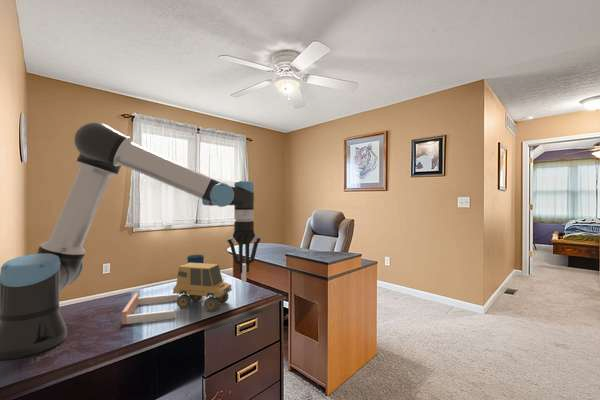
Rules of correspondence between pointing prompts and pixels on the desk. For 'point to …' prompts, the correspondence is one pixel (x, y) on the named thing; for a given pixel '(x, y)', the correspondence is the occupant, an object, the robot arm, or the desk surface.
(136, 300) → the bay
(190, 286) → the toy car
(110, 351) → the desk surface
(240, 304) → the desk surface
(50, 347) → the robot arm
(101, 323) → the desk surface
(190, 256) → the cup
